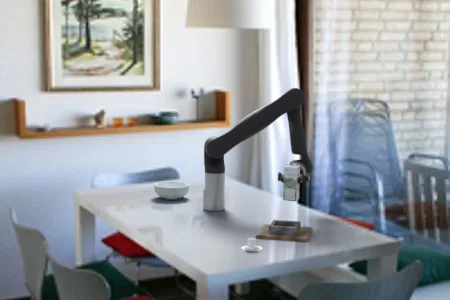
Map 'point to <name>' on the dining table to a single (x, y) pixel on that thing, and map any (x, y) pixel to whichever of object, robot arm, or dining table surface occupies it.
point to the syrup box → (291, 182)
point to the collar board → (284, 231)
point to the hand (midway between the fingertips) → (290, 180)
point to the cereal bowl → (171, 189)
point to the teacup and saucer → (251, 245)
